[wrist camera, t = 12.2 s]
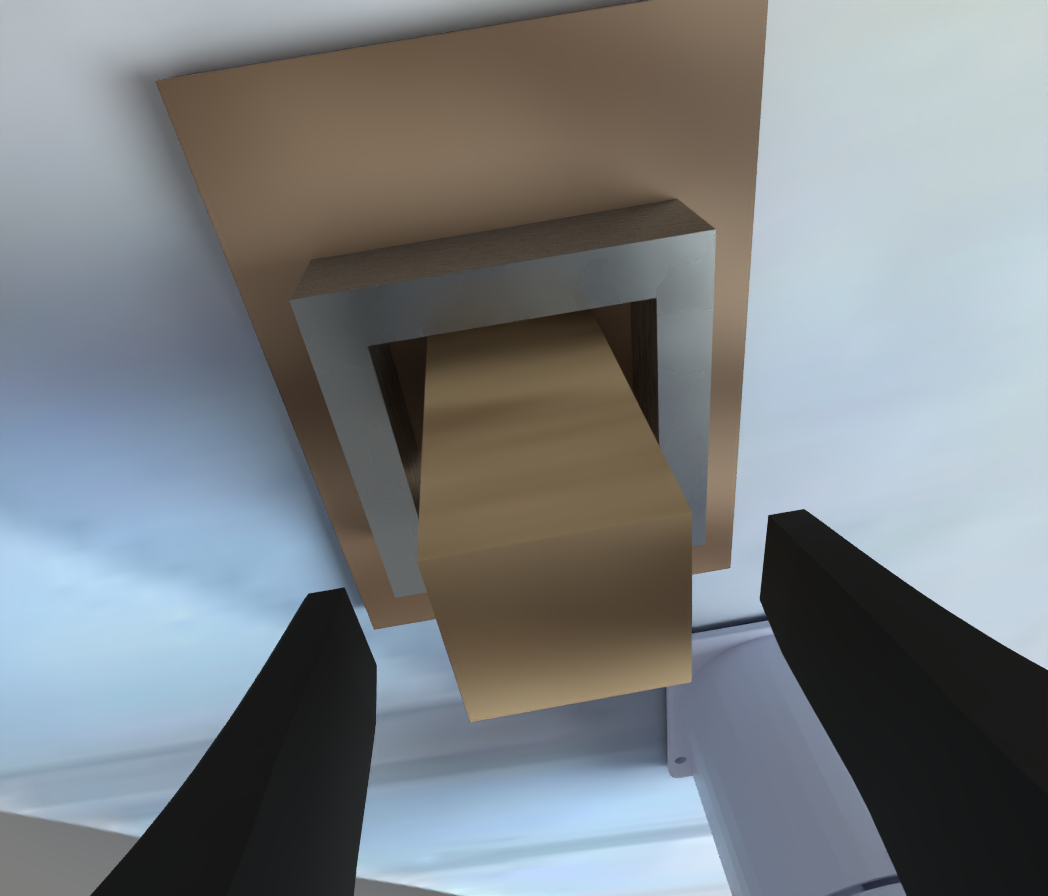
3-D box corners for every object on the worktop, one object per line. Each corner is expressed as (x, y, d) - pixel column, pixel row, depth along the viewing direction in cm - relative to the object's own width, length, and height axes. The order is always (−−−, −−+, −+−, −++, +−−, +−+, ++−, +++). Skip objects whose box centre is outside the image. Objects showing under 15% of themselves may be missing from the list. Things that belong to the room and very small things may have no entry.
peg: (601, 438, 18) (691, 682, 12) (459, 463, 18) (470, 722, 12) (588, 303, 16) (692, 511, 9) (427, 333, 16) (416, 561, 9)
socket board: (719, 547, 22) (760, 626, 20) (376, 606, 22) (366, 695, 19) (749, -17, 13) (833, -25, 11) (173, 77, 13) (98, 95, 10)
